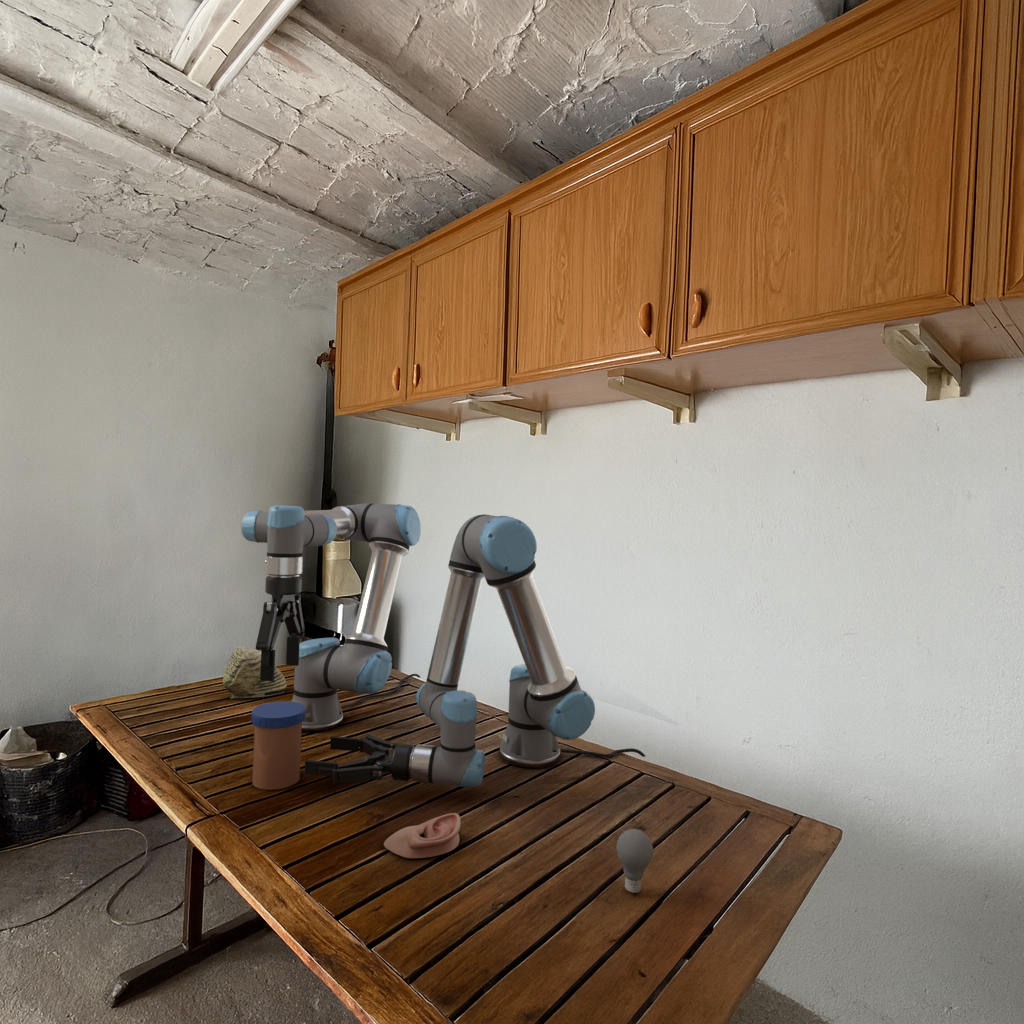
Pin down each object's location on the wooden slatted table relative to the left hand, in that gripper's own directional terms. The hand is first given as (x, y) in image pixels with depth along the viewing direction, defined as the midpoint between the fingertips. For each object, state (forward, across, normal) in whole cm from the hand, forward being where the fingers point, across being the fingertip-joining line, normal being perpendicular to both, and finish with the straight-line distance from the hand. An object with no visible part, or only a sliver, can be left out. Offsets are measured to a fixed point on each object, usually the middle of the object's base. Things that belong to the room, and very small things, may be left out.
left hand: (280, 672), depth 140 cm
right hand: (+17, 0, +10) cm, 20 cm away
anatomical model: (+24, +21, +38) cm, 49 cm away
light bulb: (+24, +30, +75) cm, 84 cm away
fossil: (+24, -55, -32) cm, 68 cm away
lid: (+9, 0, 0) cm, 9 cm away
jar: (+24, 0, 0) cm, 24 cm away
